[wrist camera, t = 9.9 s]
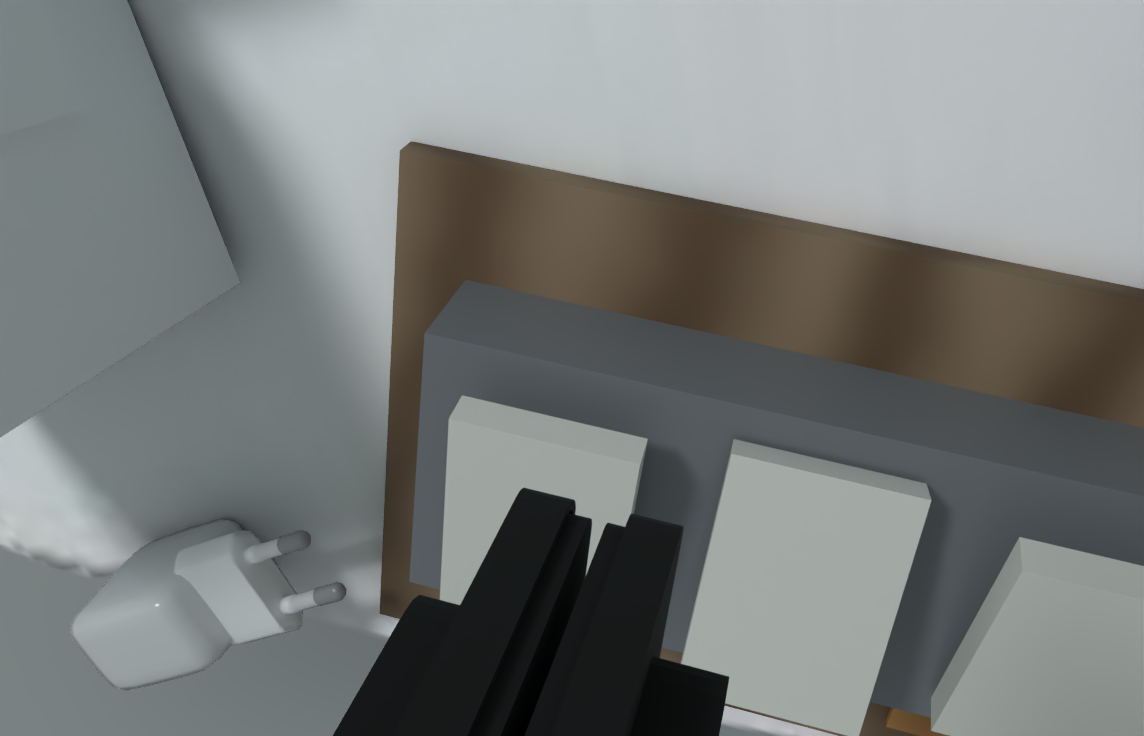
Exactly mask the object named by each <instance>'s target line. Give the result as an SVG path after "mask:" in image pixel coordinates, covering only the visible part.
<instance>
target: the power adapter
mask: <svg viewBox="0 0 1144 736" xmlns="http://www.w3.org/2000/svg"><path fill="white" fill-rule="evenodd" d="M310 543H311V537H310V535H309V533H308V532H306V531H304V530H301V531H297V532H294V533H291V534H288V535H284V536H281V537H279V538H278V539H274V540H271V541H268V542H265V543H261V541H260V540H259V539H258V538H257V537H256V536H255V535H254V534H253V533H252V532H251V531H243V529H242V528H241V527H240V526H239V525H238V524H237V523H236V522H233V521H229V520H225V519H219V520H215V521H212V522H208V523H205V524H202V525H198V526H195V527H192V528H189V529H186V530H183V531H180V532H177V533H174V534H171V535H169V536H166V537H163V538H160V539H158V540H155V541H153V542H150V543H148V544H147V545H145V546H143V547H141V548H140V549H139V550H138V551H136V552H135V553H134V554H133V555H132V556H131V557H130V558H129V559H128V560H127V561H126V562H125V563H124V564H123V565H122V566H121V567H120V568H119V569H118V570H117V571H116V572H115V573H114V574H113V575H112V576H111V577H110V578H109V579H108V580H107V582H106V583H105V584H104V585H103V586H102V587H101V588H100V589H99V590H98V591H97V592H96V593H95V595H94V596H93V597H92V598H91V599H90V600H89V601H88V602H87V603H86V604H85V606H84V607H83V608H82V609H81V610H80V611H79V613H78V614H77V615H76V616H75V618H74V619H73V621H72V625H71V631H70V635H71V637H72V639H73V640H74V642H75V643H76V645H77V646H78V647H79V648H80V650H81V651H82V653H83V654H84V655H85V656H86V658H87V659H88V660H89V661H90V662H91V664H92V665H93V666H94V667H95V669H96V670H97V671H98V672H99V673H100V674H101V676H102V677H103V678H104V679H105V680H106V681H107V682H108V683H109V684H110V685H111V686H113V687H116V688H120V689H123V690H130V689H136V688H141V687H145V686H150V685H154V684H158V683H162V682H165V681H169V680H173V679H177V678H181V677H184V676H188V675H191V674H194V673H197V672H200V671H203V670H205V669H206V668H207V667H209V666H210V665H212V664H213V663H214V662H216V661H217V660H219V659H220V658H221V657H222V655H223V654H224V653H225V652H226V651H227V649H228V648H229V647H230V646H232V645H237V644H242V643H247V642H252V641H256V640H260V639H263V638H267V637H271V636H275V635H279V634H282V633H286V632H290V631H294V630H297V629H299V628H300V627H301V626H302V614H303V610H304V609H308V608H311V607H315V606H318V605H319V606H322V605H325V604H329V603H333V602H336V601H340V600H342V599H343V598H344V597H345V595H346V588H345V586H344V585H343V584H342V583H339V582H336V583H332V584H329V585H325V586H322V587H318V588H316V589H314V590H311V591H307V592H304V593H300V594H297V593H296V591H295V590H294V588H293V587H292V586H291V584H290V583H289V581H288V580H287V578H286V577H285V576H284V574H283V573H282V571H281V570H280V568H279V567H278V566H277V564H276V563H275V561H274V560H273V557H276V556H279V555H283V554H284V555H285V554H289V553H292V552H295V551H299V550H302V549H305V548H307V547H308V546H309V545H310Z"/></svg>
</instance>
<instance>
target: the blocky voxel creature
mask: <svg viewBox="0 0 1144 736" xmlns="http://www.w3.org/2000/svg"><path fill="white" fill-rule="evenodd" d="M239 283H240V281H239V279H238V276H237V274H236V271H235V269H234V266H233V264H232V261H231V259H230V256H229V254H228V251H227V249H226V246H225V244H224V241H223V239H222V236H221V234H220V231H219V229H218V226H217V224H216V221H215V219H214V216H213V214H212V211H211V209H210V206H209V204H208V201H207V199H206V196H205V194H204V191H203V189H202V186H201V184H200V181H199V179H198V176H197V174H196V171H195V169H194V166H193V163H192V161H191V158H190V156H189V153H188V151H187V148H186V146H185V143H184V141H183V138H182V136H181V133H180V131H179V128H178V126H177V123H176V121H175V118H174V116H173V113H172V111H171V108H170V106H169V103H168V101H167V98H166V96H165V93H164V91H163V88H162V86H161V83H160V81H159V78H158V76H157V73H156V71H155V68H154V66H153V63H152V61H151V58H150V56H149V53H148V51H147V48H146V46H145V43H144V41H143V38H142V36H141V33H140V31H139V28H138V26H137V23H136V21H135V18H134V16H133V13H132V11H131V8H130V6H129V3H128V1H127V0H0V437H2V436H3V435H5V434H6V433H8V432H9V431H11V430H13V429H14V428H16V427H17V426H19V425H20V424H22V423H23V422H25V421H27V420H28V419H30V418H31V417H33V416H34V415H36V414H37V413H39V412H41V411H42V410H44V409H45V408H47V407H48V406H50V405H51V404H53V403H55V402H56V401H58V400H59V399H61V398H62V397H64V396H65V395H67V394H69V393H70V392H72V391H73V390H75V389H76V388H78V387H79V386H81V385H83V384H84V383H86V382H87V381H89V380H90V379H92V378H93V377H95V376H96V375H98V374H100V373H101V372H103V371H104V370H106V369H107V368H109V367H110V366H112V365H114V364H115V363H117V362H118V361H120V360H121V359H123V358H124V357H126V356H128V355H129V354H131V353H132V352H134V351H135V350H137V349H138V348H140V347H142V346H143V345H145V344H146V343H148V342H149V341H151V340H152V339H154V338H156V337H157V336H159V335H160V334H162V333H163V332H165V331H166V330H168V329H169V328H171V327H173V326H174V325H176V324H177V323H179V322H180V321H182V320H183V319H185V318H187V317H188V316H190V315H191V314H193V313H194V312H196V311H197V310H199V309H201V308H202V307H204V306H205V305H207V304H208V303H210V302H211V301H213V300H215V299H216V298H218V297H219V296H221V295H222V294H224V293H225V292H227V291H229V290H230V289H232V288H233V287H235V286H236V285H238V284H239Z"/></svg>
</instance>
